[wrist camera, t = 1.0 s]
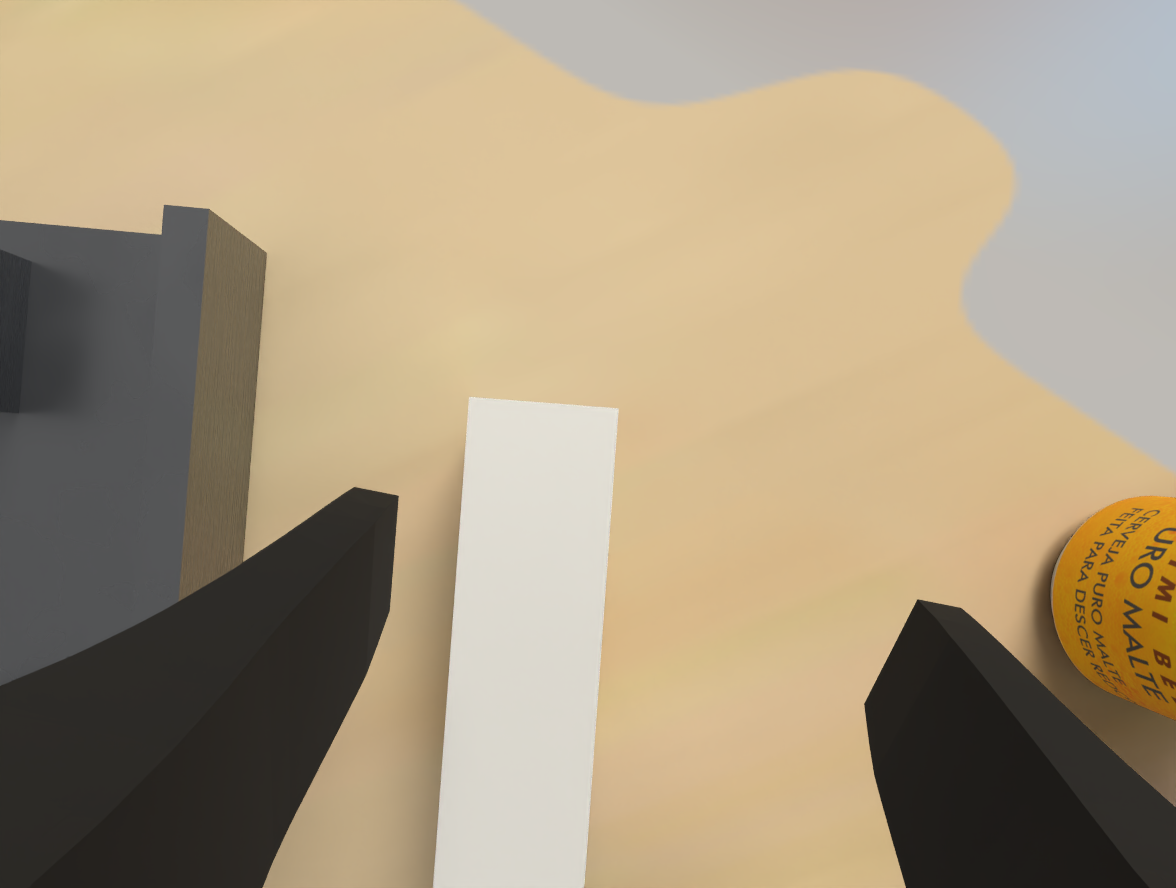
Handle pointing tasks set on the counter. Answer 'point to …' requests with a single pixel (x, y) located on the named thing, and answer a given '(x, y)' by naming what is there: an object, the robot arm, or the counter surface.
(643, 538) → the counter surface
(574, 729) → the white rectangular block
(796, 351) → the counter surface
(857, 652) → the counter surface
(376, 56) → the counter surface
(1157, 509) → the beer can
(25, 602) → the rack
